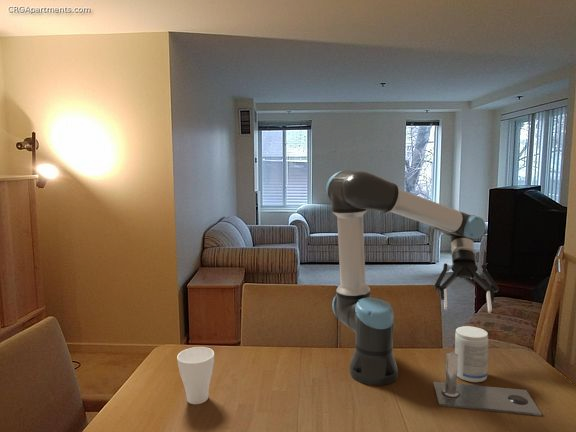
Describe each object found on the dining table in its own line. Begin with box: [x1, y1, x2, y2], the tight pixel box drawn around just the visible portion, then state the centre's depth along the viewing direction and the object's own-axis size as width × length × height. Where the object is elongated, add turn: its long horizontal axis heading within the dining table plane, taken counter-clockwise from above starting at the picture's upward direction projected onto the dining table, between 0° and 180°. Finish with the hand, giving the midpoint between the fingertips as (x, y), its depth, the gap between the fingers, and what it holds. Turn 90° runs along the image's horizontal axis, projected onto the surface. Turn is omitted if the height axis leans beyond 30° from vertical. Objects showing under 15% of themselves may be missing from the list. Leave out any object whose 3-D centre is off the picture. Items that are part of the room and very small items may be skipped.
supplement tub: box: [454, 325, 489, 383], centre depth 133 cm, size 10×10×15 cm
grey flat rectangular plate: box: [433, 381, 543, 417], centre depth 121 cm, size 26×12×1 cm, turn 78°
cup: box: [176, 346, 215, 405], centre depth 122 cm, size 10×10×14 cm
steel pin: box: [443, 351, 459, 398], centre depth 122 cm, size 4×4×12 cm
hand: (467, 309), depth 140 cm, fingers open, 13 cm apart
